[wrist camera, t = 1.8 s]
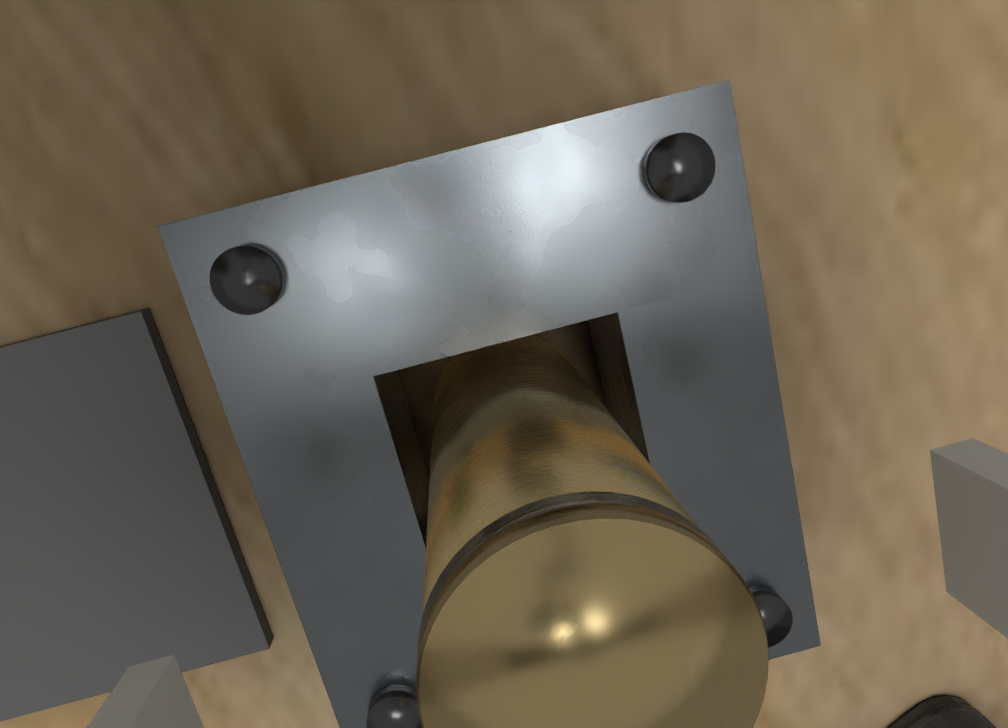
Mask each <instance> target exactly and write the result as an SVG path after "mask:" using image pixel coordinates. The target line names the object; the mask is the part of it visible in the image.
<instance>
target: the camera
mask: <svg viewBox="0 0 1008 728" xmlns="http://www.w3.org/2000/svg"><path fill="white" fill-rule="evenodd" d="M888 728H996V727H995V726H994V725H993V724H992V723H991V722H990V721H989V720H988V719H987V718H986V717H985V716H984V715H982V714H981V713H980V712H979V711H978V710H976V709H975V708H973V707H972V706H971V705H970V704H968V703H967V702H966V701H965V700H963V699H961V698H957V697H950V696H943V697H937V698H932V699H929V700H927V701H924V702H922V703H921V704H919V705H918V706H917V707H915V708H914V709H912V710H911V711H909V712H908V713H907V714H905V715H904V716H903V717H901V718H900V719H899V720H897V721H896V722H895V723H894V724H892V725H891V726H890V727H888Z"/></svg>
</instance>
